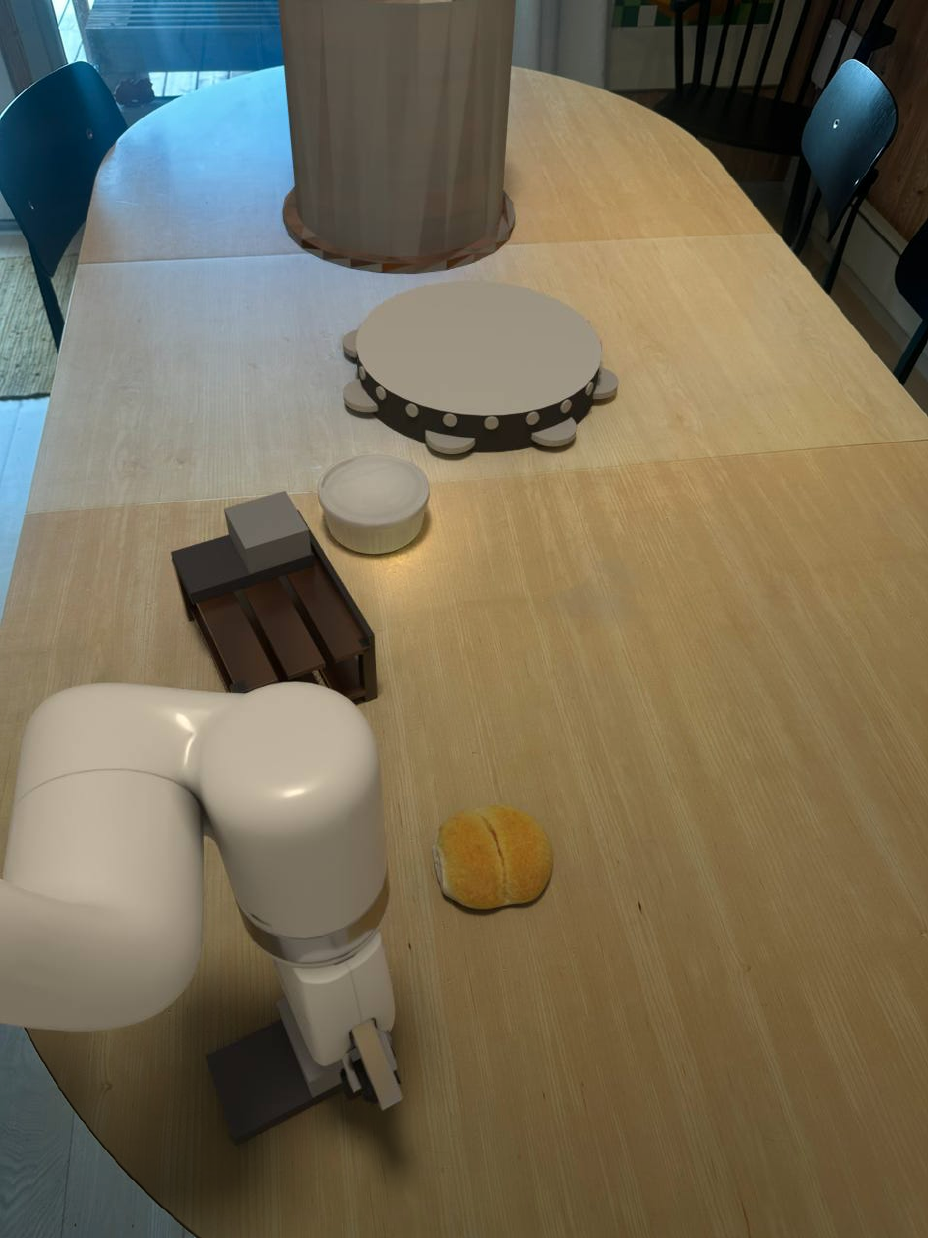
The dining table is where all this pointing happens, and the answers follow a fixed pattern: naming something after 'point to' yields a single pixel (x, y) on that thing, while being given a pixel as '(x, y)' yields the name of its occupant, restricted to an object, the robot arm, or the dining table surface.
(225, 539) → the grey block
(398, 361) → the tambourine
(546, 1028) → the dining table surface
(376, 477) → the ramekin
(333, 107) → the storage basket
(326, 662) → the rack
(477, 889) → the bread roll
